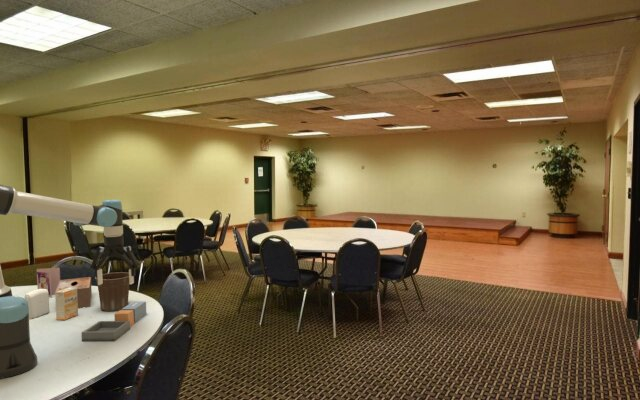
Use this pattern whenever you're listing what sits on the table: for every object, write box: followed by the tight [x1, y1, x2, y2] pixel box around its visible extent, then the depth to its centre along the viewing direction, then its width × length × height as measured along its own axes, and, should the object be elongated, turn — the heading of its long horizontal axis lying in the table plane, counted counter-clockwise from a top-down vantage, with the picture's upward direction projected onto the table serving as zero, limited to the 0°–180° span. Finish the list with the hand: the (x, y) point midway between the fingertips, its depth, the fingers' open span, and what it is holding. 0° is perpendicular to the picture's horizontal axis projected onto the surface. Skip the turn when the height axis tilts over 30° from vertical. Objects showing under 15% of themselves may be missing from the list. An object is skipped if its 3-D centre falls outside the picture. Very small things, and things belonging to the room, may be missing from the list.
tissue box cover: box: [55, 276, 93, 309], centre depth 218 cm, size 26×14×10 cm, turn 27°
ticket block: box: [121, 300, 147, 324], centre depth 191 cm, size 12×6×6 cm, turn 179°
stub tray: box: [81, 320, 131, 342], centre depth 171 cm, size 13×13×4 cm
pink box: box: [36, 267, 61, 299], centre depth 231 cm, size 11×7×15 cm, turn 67°
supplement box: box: [54, 288, 79, 321], centre depth 193 cm, size 8×5×13 cm, turn 168°
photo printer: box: [24, 288, 51, 320], centre depth 197 cm, size 10×4×12 cm, turn 162°
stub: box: [114, 310, 135, 327], centre depth 182 cm, size 5×6×6 cm
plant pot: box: [94, 271, 130, 312], centre depth 207 cm, size 16×16×16 cm
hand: (116, 284), depth 182 cm, fingers open, 13 cm apart
